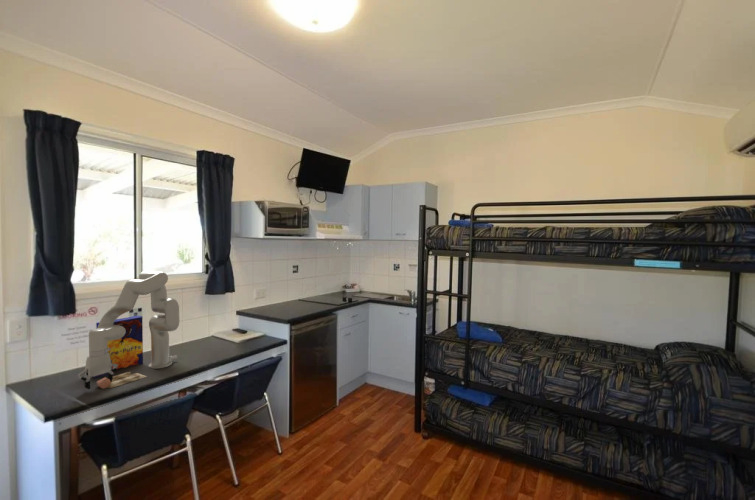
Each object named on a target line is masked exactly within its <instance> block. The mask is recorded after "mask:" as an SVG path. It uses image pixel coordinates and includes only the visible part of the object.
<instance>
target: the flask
mask: <svg viewBox="0 0 755 500" xmlns="http://www.w3.org/2000/svg"><path fill="white" fill-rule="evenodd" d="M111 363H112V360H111ZM111 370H112V366H111ZM107 375H108V372H107V373H104V374H101V375H97V376H93V377H91V379H97V378H101V377H102V378H103V377H106V376H107Z"/></svg>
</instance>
